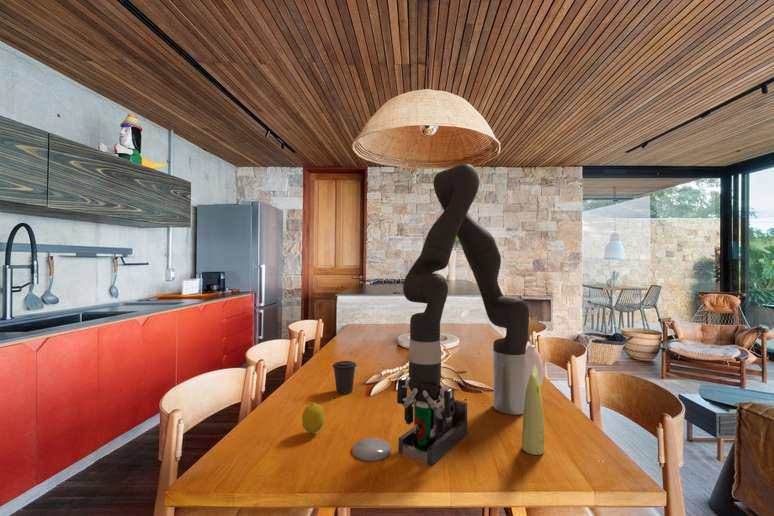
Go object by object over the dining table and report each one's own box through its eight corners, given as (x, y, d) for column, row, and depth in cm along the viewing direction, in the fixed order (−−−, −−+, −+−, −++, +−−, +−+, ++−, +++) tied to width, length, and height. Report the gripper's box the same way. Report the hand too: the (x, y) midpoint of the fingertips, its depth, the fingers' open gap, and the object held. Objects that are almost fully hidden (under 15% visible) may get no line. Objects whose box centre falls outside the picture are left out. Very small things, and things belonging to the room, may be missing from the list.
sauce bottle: (515, 389, 122) (514, 337, 122) (525, 384, 127) (525, 334, 127) (537, 396, 116) (537, 341, 116) (547, 390, 121) (547, 337, 121)
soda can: (435, 458, 80) (435, 404, 80) (413, 455, 81) (413, 402, 81) (436, 446, 85) (436, 396, 85) (415, 444, 86) (415, 394, 86)
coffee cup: (361, 390, 121) (361, 361, 121) (346, 398, 114) (346, 367, 114) (342, 385, 125) (342, 357, 125) (327, 393, 118) (327, 363, 119)
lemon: (327, 430, 92) (328, 400, 92) (316, 441, 87) (317, 408, 87) (309, 427, 94) (309, 397, 94) (297, 437, 89) (297, 405, 89)
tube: (551, 455, 81) (551, 370, 81) (531, 458, 79) (531, 371, 80) (535, 443, 86) (535, 362, 86) (517, 445, 85) (516, 364, 85)
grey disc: (369, 437, 89) (369, 434, 89) (398, 448, 84) (398, 446, 84) (344, 452, 82) (344, 449, 82) (374, 466, 76) (374, 463, 76)
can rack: (436, 424, 96) (436, 394, 96) (467, 433, 91) (467, 402, 91) (398, 452, 82) (398, 418, 82) (432, 466, 76) (432, 429, 76)
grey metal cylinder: (438, 429, 93) (438, 383, 93) (456, 435, 90) (456, 388, 90) (428, 437, 89) (428, 389, 89) (446, 443, 86) (446, 394, 86)
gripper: (460, 360, 81) (459, 431, 81) (408, 350, 90) (408, 414, 90) (444, 367, 76) (444, 444, 75) (390, 356, 84) (390, 425, 84)
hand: (424, 428), depth 83 cm, fingers open, 8 cm apart
